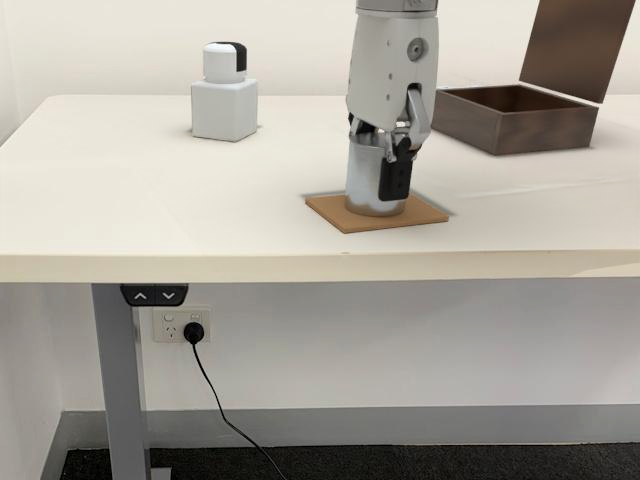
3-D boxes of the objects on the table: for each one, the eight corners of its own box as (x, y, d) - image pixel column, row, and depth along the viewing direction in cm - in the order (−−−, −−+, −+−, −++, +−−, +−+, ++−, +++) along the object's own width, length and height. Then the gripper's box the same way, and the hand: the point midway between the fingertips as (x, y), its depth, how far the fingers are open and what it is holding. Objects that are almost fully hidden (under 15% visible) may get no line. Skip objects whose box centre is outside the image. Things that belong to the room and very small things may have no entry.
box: (493, 162, 97) (502, 114, 94) (426, 132, 110) (432, 89, 107) (587, 153, 101) (599, 107, 98) (511, 125, 114) (519, 84, 111)
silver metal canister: (387, 195, 84) (394, 130, 80) (416, 213, 78) (425, 144, 75) (334, 200, 82) (339, 134, 78) (360, 219, 77) (367, 150, 73)
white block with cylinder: (214, 126, 112) (213, 38, 106) (257, 131, 110) (259, 41, 103) (191, 136, 107) (189, 44, 101) (236, 142, 104) (236, 48, 98)
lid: (642, -35, 89) (671, -32, 91) (550, -42, 103) (577, -39, 104) (597, 103, 97) (625, 104, 99) (518, 80, 111) (543, 82, 112)
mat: (401, 192, 86) (402, 188, 86) (448, 221, 78) (449, 216, 78) (304, 202, 83) (305, 198, 82) (343, 233, 75) (344, 228, 75)
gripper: (486, 5, 64) (452, 212, 73) (388, -12, 77) (370, 164, 87) (408, 7, 61) (383, 219, 71) (322, -11, 75) (311, 170, 85)
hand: (376, 187), depth 79 cm, fingers closed on silver metal canister, 6 cm apart
